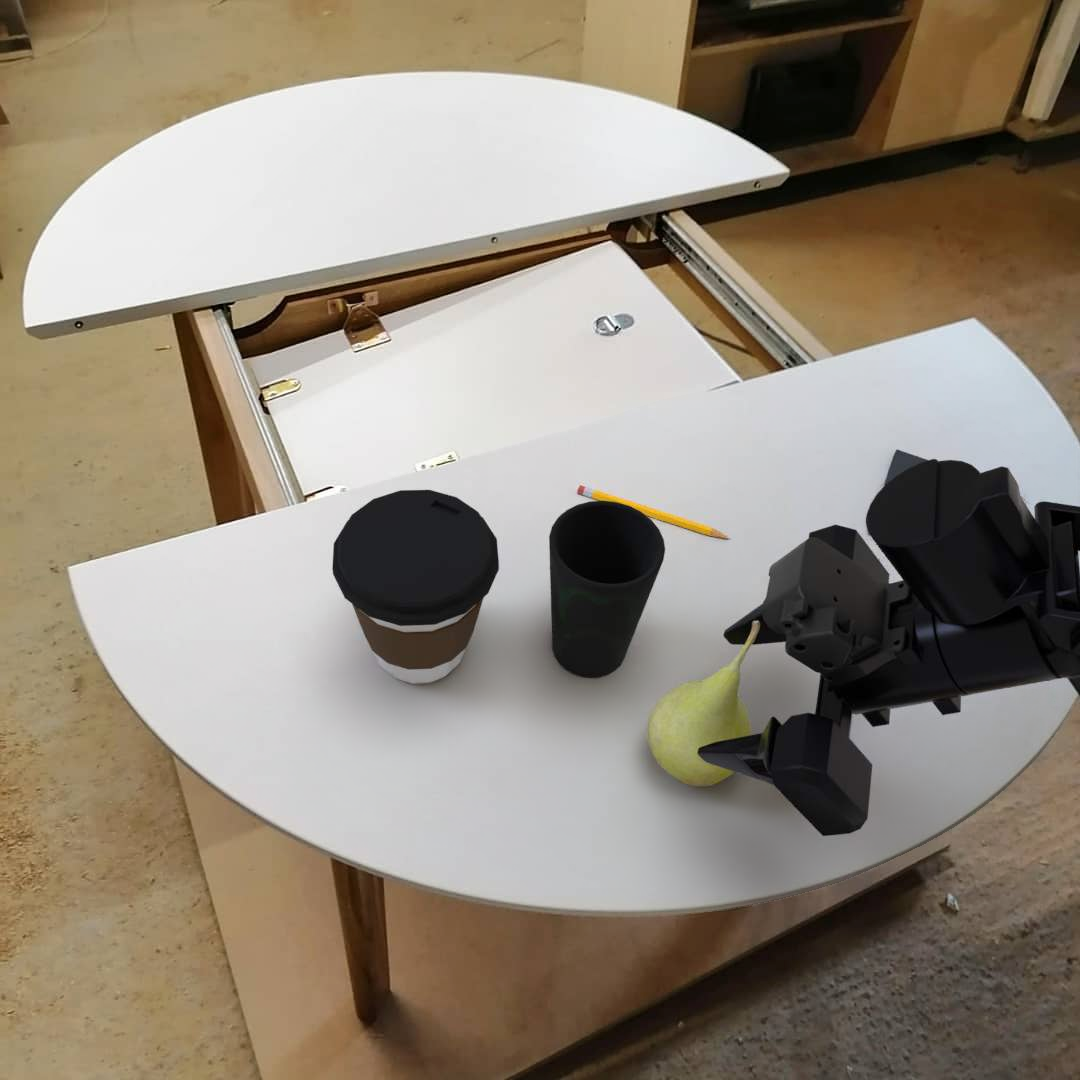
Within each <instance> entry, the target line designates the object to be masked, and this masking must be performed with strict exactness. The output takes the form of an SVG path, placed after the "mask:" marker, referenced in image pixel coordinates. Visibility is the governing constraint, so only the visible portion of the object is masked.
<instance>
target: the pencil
mask: <svg viewBox="0 0 1080 1080" xmlns="http://www.w3.org/2000/svg"><path fill="white" fill-rule="evenodd" d="M577 494H578V495H581V496H585V497H587V498H591V499H593V500H596V501H611V502H618V503H621V504H625V505H628V506H631V507H633V508H635V509H637V510H638V511H640V512H642V513H643V514H645V515H646V516H647V517H648V518H651V519H652V518H653V519H655V520H658V521H662V522H664V523H668V524H671V525H674V526H677V527H679V528H680V527H681V528H683V529H687V530H689V531H693V532H695V533H699V534H702V535H705V536H708V537H714V538H720V539H726V540H727V539H730V540H731V539H732V538H731V537H730V536H728V535H726V534H725V533H723V532H721V531H719V530H717V529H716V528H714V527H711V526H708V525H705V524H703V523H699V522H696V521H693V520H689V519H686V518H683V517H680V516H678V515H674V514H671V513H668V512H665V511H662V510H658V509H655V508H652V507H649V506H647V505H643V504H640V503H637V502H633V501H630V500H628V499H625V498H621V497H619V496H615V495H612V494H608V493H605V492H603V491H599V490H598V489H597V490H596V489H593V488H590V487H587V486H584V485H579V486H578V488H577Z"/></svg>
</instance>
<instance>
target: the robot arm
mask: <svg viewBox="0 0 1080 1080" xmlns="http://www.w3.org/2000/svg"><path fill="white" fill-rule="evenodd" d="M927 460H928V461H924V462H921V463H919V464H917V465H915V466H912V467H910V468H908V469H906V470H905V471H903V472H902V473H900V474H898V475H897V476H895V477H894V478H893V479H892V480H891V481H889V482H888V483H887V484H886V485H885V486H884V485H883V487H882V488H881V489H880V490H879V491H878V492H877V493H876V495H875V496H874V498H873V500H872V501H871V502H870V504H869V506H868V510H867V511H866V515H865V526H866V531H867V533H869V534H868V535H870V537H871V539H872V540H873V541H874V543H875V544H876V545H877V547H878V549H879V550H880V551H881V552H882V554H883V555H884V557H885V558H886V559H887V560H888V561H889V563H890V564H891V566H892V567H893V568H894V569H895V571H896V572H897V574H898V575H899V576H900V578H901V579H902V580H898V581H894V582H890V572H889V571H888V570H887V569H886V568H885V566H884V565H883V563H882V561H880V559H879V558H878V557H877V556H876V554H875V552H874V551H873V550H872V549H871V547H870V546H869V545H868V543H867V542H866V540H865V539H864V538H863V537H862V536H861V534H860V533H859V532H858V530H857V529H856V528H855V529H854V528H851V527H847V526H843V525H839V524H833V525H830V526H827V527H824V528H823V527H822V528H819V529H817V530H814V531H811V532H809V533H808V538H807V539H805V540H804V541H803V542H801V543H800V544H798V546H796V547H794V548H793V549H792V550H791V551H789V552H788V553H786V554H785V555H784V556H782V557H781V558H779V559H778V560H776V561H775V562H774V563H772V564H771V566H770V567H769V569H768V577H769V579H768V584H767V590H766V595H765V599H764V600H763V602H762V604H760V605H758V606H757V607H756V608H754V609H752V610H750V612H749V613H747V614H746V615H744V616H743V617H742V618H740V619H738V621H736V622H735V623H733V624H731V625H730V626H729V627H727V628H726V629H724V631H723V638H724V639H725V640H726V642H728V644H730V645H734V646H735V645H739V646H744V645H745V643H746V641H747V639H748V637H749V635H750V633H751V630H752V622H753V621H759V622H760V629H759V632H758V633H757V636H756V638H755V640H754V642H753V643H752V645H751V646H755V645H756V646H757V645H768V644H778V643H779V644H780V643H785V644H784V649H785V650H784V651H785V654H787V655H788V656H789V657H790V658H792V659H795V661H798V662H799V663H800V664H802V665H804V666H805V667H806V668H809V669H810V670H812V671H813V672H815V673H818V674H820V675H819V682H818V690H817V695H816V704H815V711H814V713H812V712H805V713H804V712H803V713H798V714H793V715H790V716H789V718H787V719H786V720H785V721H784V722H783V723H781V722H780V721H779V720H778V718H777V717H775V716H774V715H773V716H771V717H770V719H769V721H768V722H767V724H766V726H765V728H764V730H763V732H760V733H755V734H754V733H753V734H751V735H749V736H744V737H739V738H733V739H728V740H723V741H718V742H714V743H711V744H708V745H705V746H702V747H699V748H698V752H697V754H698V755H699V756H700V757H701V758H702V759H703V760H704V761H705V762H707V763H709V764H712V765H716V766H719V767H722V768H725V769H728V770H731V771H734V773H738V774H741V775H743V776H747V777H750V778H753V779H756V780H759V781H762V782H765V783H767V784H770V785H773V786H774V788H775V789H777V790H778V792H780V794H781V795H782V796H783V797H784V798H785V799H786V801H788V802H789V803H790V804H791V805H792V806H793V807H794V808H795V809H796V810H797V811H798V812H799V813H800V814H801V815H802V816H803V817H804V819H805V820H806V821H808V822H809V824H810V825H811V826H812V827H813V828H814V829H815V830H816V831H818V833H819V834H820V835H821V836H822V837H827V836H828V837H830V836H841V835H849V834H852V833H855V832H856V831H859V830H861V829H862V827H863V826H864V825H865V823H866V822H867V820H868V819H869V810H870V809H869V807H870V797H871V784H872V774H873V763H872V762H871V761H870V760H869V759H868V758H867V757H866V755H865V754H864V753H863V751H861V750H860V749H859V747H858V746H857V745H856V744H855V743H854V741H853V740H851V731H852V723H853V716H854V715H856V716H857V715H862V716H863V718H864V719H865V720H866V721H867V722H868V723H869V725H870V726H871V727H872V728H877V727H881V726H888V725H890V722H891V721H890V719H891V710H893V709H899V708H904V707H910V706H911V707H912V706H915V705H921V704H927V703H932V704H933V705H934V707H936V709H937V710H938V711H939V713H940V714H941V715H942V716H946V715H953V714H958V713H961V711H962V697H966V696H971V695H977V694H981V693H987V692H994V691H999V690H1004V689H1009V688H1016V687H1021V686H1027V685H1031V684H1037V683H1042V682H1043V683H1044V682H1049V681H1054V680H1055V681H1056V680H1060V679H1067V680H1068V682H1069V683H1070V684H1071V686H1072V688H1073V689H1074V690H1075V692H1076V693H1077V695H1078V696H1079V697H1080V556H1079V555H1080V554H1079V552H1080V506H1079V505H1071V504H1065V503H1057V502H1052V501H1044V500H1043V501H1042V500H1041V501H1039V502H1037V503H1036V504H1035V505H1034V507H1033V508H1034V509H1033V510H1034V516H1033V514H1032V512H1031V511H1030V508H1029V507H1028V506H1027V504H1026V503H1025V501H1024V499H1023V497H1022V495H1021V491H1020V486H1019V483H1018V482H1017V480H1016V478H1015V477H1014V475H1013V474H1012V471H1010V469H1009V467H1006V466H998V467H995V468H992V469H989V470H986V471H983V472H980V470H979V469H977V468H976V467H975V466H974V465H973V464H971V463H968V462H965V461H963V460H956V459H946V460H945V459H944V460H938V459H937V458H931V459H927Z"/></svg>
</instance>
